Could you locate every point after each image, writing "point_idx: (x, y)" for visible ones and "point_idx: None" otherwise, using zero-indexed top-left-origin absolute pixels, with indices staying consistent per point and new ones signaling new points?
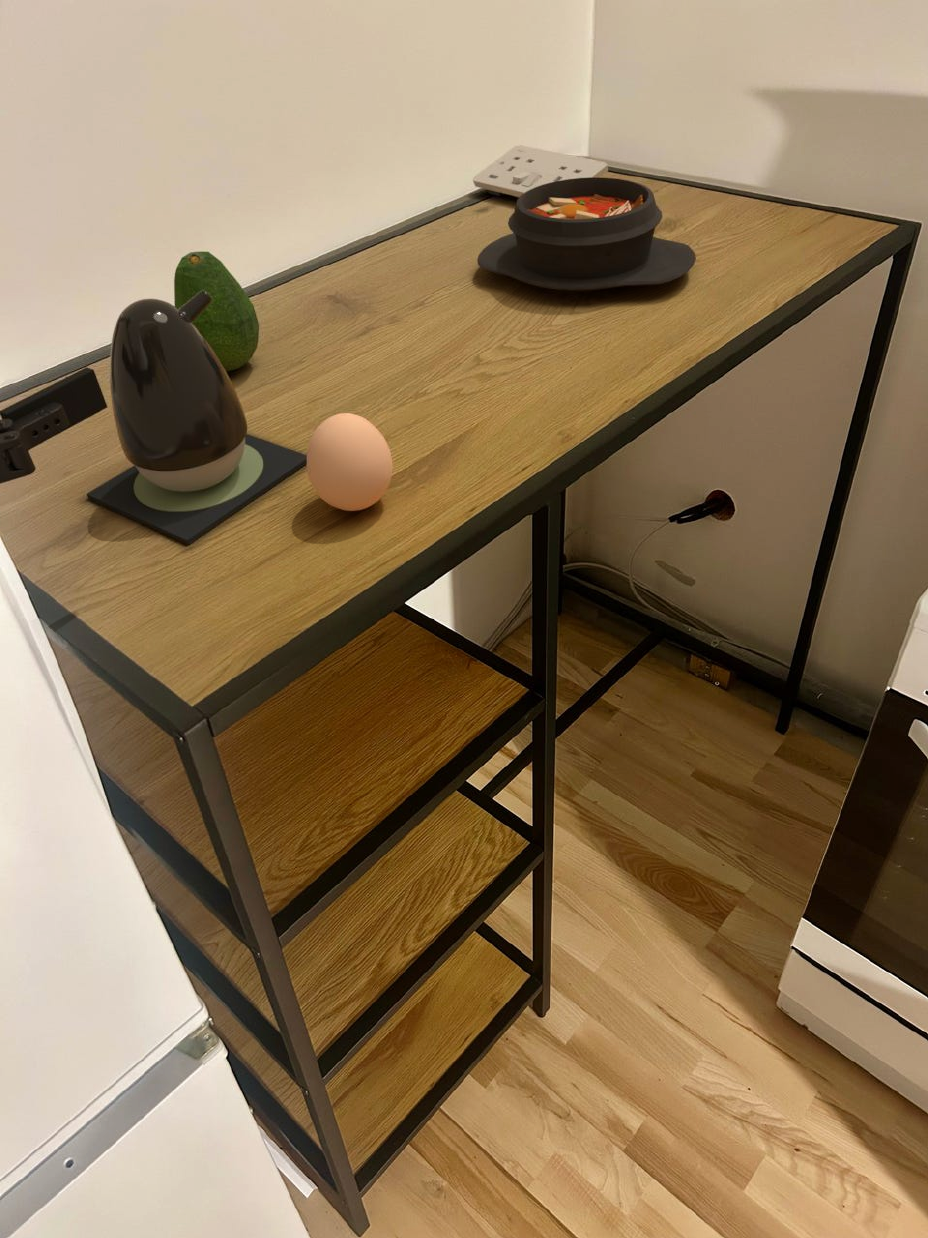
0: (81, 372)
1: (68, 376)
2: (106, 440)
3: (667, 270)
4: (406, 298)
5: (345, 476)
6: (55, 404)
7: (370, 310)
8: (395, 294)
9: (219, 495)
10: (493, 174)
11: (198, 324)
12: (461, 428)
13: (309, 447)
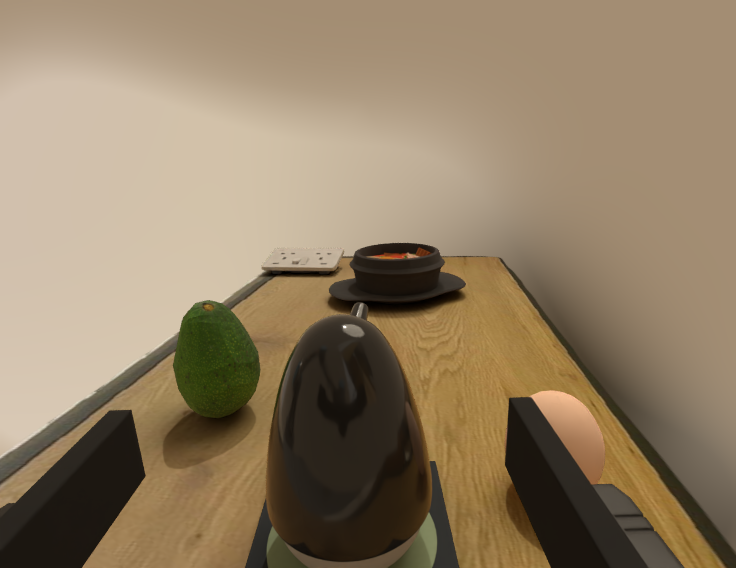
0: (527, 408)
1: (526, 422)
2: (151, 546)
3: (456, 282)
4: (307, 328)
5: (599, 457)
6: (600, 489)
7: (291, 340)
8: (294, 328)
9: (418, 550)
10: (274, 262)
11: (221, 369)
12: (498, 393)
13: None
